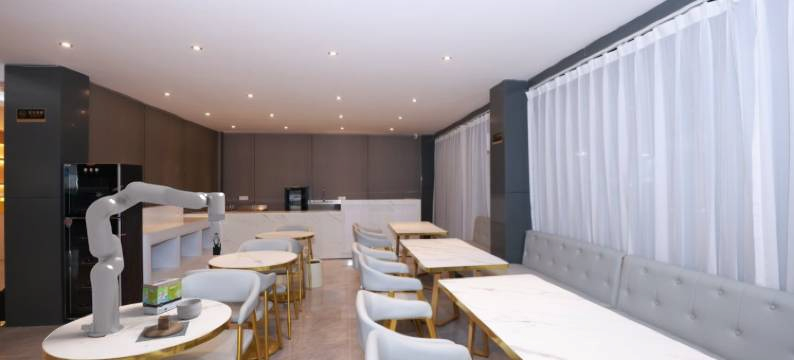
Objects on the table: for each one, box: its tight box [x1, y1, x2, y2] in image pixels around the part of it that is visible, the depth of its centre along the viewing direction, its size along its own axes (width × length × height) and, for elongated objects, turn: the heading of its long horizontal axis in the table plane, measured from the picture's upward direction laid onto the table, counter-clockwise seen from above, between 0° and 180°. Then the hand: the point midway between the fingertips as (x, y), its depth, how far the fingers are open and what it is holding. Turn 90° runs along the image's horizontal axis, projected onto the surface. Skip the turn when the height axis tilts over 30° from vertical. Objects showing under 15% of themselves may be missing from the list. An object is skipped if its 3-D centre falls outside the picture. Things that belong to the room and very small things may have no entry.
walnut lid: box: [144, 314, 184, 338], centre depth 173 cm, size 15×15×6 cm
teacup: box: [176, 297, 203, 321], centre depth 192 cm, size 14×11×8 cm
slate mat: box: [135, 320, 191, 343], centre depth 173 cm, size 18×18×1 cm
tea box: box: [142, 277, 183, 316], centre depth 204 cm, size 15×10×15 cm, turn 162°
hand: (217, 253), depth 191 cm, fingers open, 9 cm apart
